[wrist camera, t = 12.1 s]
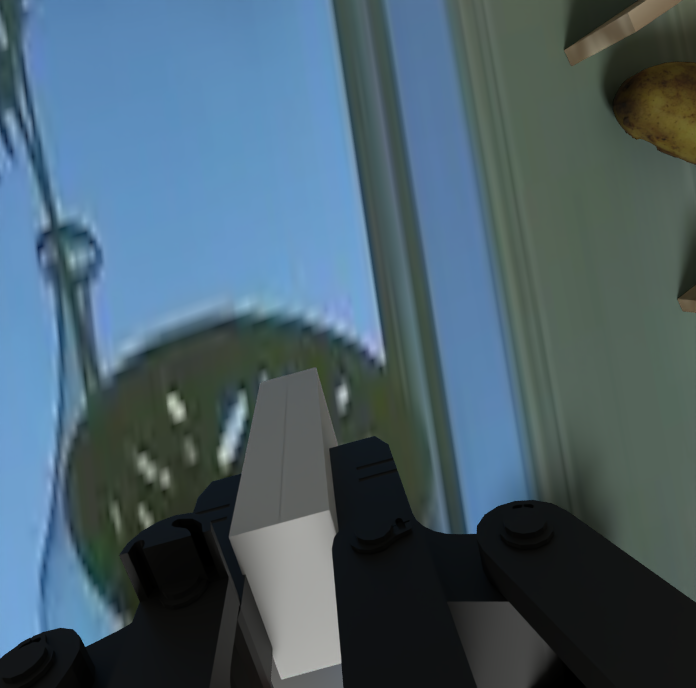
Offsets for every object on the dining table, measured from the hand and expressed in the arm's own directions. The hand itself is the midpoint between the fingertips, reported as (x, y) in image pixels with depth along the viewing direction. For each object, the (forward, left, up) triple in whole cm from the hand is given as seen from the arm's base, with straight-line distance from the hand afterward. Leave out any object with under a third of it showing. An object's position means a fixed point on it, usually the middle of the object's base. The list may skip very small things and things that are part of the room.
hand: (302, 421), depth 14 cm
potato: (+6, +35, -22) cm, 42 cm away
